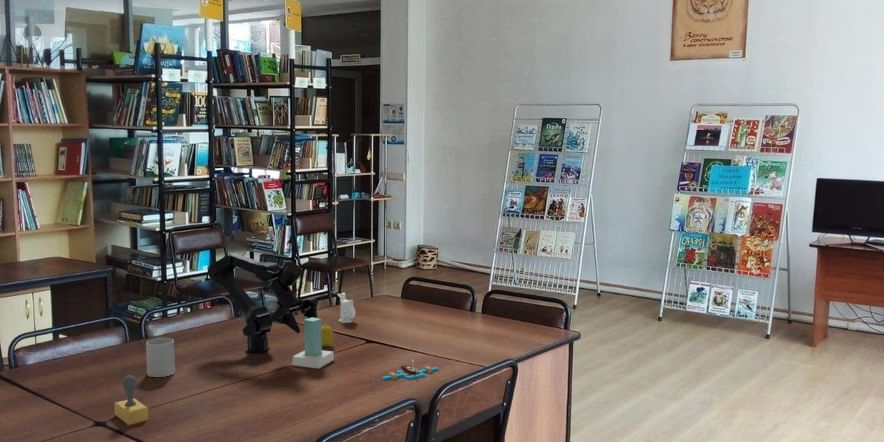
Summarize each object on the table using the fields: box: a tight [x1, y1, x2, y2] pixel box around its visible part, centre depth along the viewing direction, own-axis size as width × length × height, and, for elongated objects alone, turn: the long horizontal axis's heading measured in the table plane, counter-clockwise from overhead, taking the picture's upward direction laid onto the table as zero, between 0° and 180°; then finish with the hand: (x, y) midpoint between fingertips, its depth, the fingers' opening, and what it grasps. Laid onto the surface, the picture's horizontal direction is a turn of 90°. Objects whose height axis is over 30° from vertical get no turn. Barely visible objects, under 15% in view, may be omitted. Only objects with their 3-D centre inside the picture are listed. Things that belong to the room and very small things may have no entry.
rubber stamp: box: [113, 374, 149, 426], centre depth 211 cm, size 10×6×12 cm, turn 41°
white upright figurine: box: [337, 292, 356, 324], centre depth 316 cm, size 8×7×12 cm
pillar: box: [303, 317, 323, 356], centre depth 261 cm, size 4×4×12 cm
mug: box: [145, 337, 176, 377], centre depth 250 cm, size 12×8×11 cm
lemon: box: [321, 324, 334, 347], centre depth 281 cm, size 6×6×8 cm
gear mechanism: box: [381, 360, 439, 381], centre depth 250 cm, size 20×5×9 cm
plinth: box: [292, 349, 334, 369], centre depth 262 cm, size 10×10×3 cm
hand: (308, 329), depth 262 cm, fingers open, 9 cm apart
